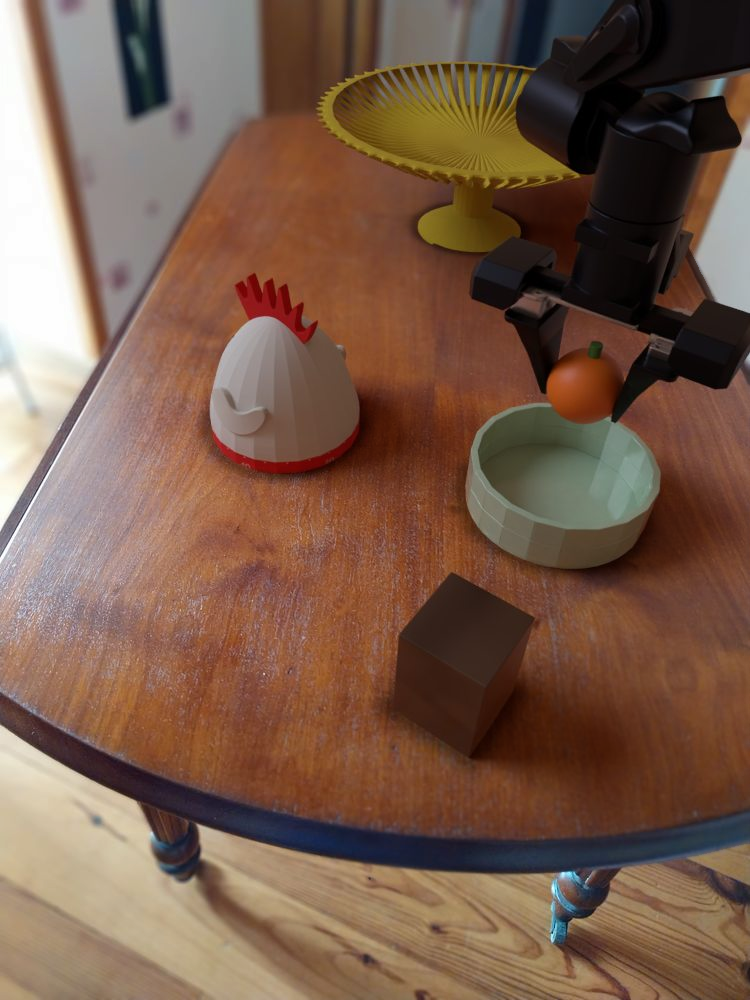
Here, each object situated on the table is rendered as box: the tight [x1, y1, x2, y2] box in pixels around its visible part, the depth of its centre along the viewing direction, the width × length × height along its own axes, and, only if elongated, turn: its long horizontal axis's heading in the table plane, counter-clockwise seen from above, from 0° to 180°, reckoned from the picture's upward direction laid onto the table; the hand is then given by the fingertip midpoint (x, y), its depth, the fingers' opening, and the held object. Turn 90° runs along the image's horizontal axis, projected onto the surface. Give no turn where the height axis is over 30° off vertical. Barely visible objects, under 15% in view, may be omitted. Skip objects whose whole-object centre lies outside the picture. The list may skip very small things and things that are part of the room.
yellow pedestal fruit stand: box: [315, 60, 588, 253], centre depth 95 cm, size 40×40×15 cm
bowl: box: [464, 402, 662, 570], centre depth 63 cm, size 15×15×5 cm
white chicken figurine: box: [209, 272, 361, 474], centre depth 66 cm, size 14×14×15 cm
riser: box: [392, 571, 536, 759], centre depth 48 cm, size 6×6×9 cm
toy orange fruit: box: [546, 340, 625, 424], centre depth 55 cm, size 6×6×6 cm
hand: (580, 405), depth 57 cm, fingers closed on toy orange fruit, 5 cm apart
